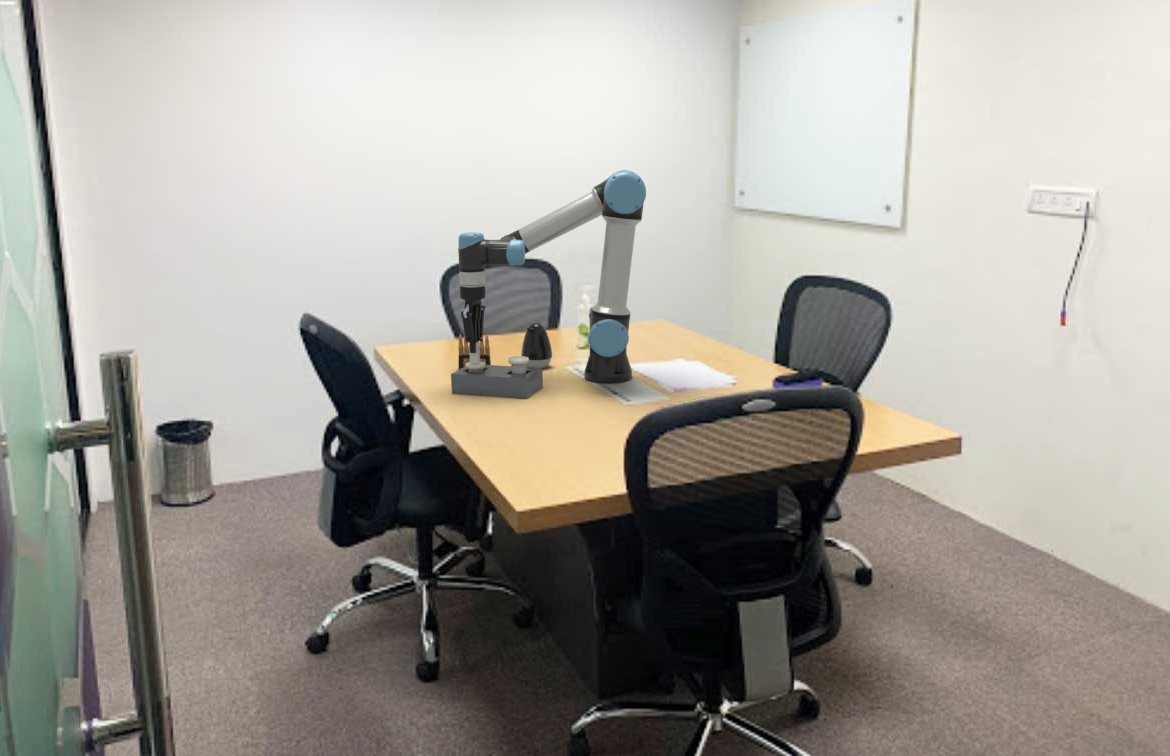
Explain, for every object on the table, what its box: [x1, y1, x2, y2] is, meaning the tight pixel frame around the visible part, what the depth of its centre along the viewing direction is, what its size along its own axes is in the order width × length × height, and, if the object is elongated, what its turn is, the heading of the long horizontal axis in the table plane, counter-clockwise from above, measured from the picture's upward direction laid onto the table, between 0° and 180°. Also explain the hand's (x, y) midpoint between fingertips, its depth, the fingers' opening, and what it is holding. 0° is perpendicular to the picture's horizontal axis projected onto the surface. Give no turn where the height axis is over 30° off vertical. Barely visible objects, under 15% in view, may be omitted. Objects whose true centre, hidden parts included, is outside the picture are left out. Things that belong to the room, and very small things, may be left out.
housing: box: [450, 364, 544, 399], centre depth 283 cm, size 24×14×6 cm, turn 73°
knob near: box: [508, 355, 529, 375], centre depth 280 cm, size 6×6×7 cm
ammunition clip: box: [457, 333, 492, 370], centre depth 310 cm, size 11×2×12 cm, turn 85°
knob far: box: [466, 362, 486, 372], centre depth 285 cm, size 6×6×7 cm
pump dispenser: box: [521, 322, 553, 369], centre depth 311 cm, size 10×10×15 cm
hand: (475, 362), depth 284 cm, fingers closed
